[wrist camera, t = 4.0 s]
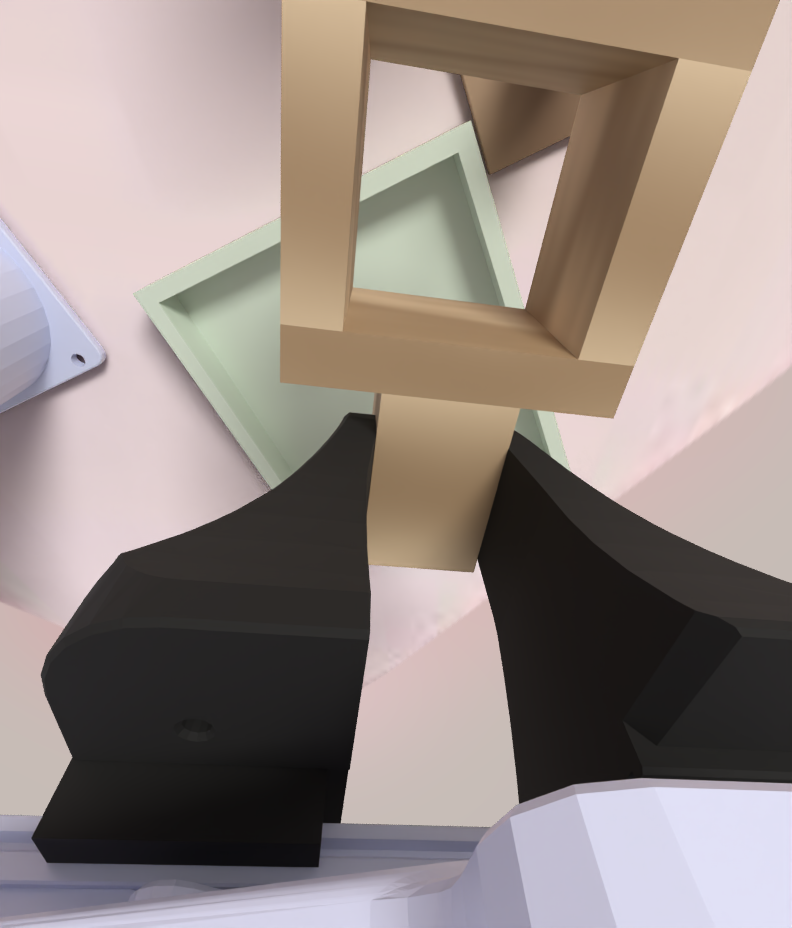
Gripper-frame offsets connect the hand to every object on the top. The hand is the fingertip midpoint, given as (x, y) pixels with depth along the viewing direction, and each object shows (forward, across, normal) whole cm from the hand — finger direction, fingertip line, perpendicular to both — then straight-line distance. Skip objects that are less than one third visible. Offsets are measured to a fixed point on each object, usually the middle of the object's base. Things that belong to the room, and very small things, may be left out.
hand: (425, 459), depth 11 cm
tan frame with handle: (+2, 0, -3) cm, 4 cm away
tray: (+10, +1, +2) cm, 10 cm away
